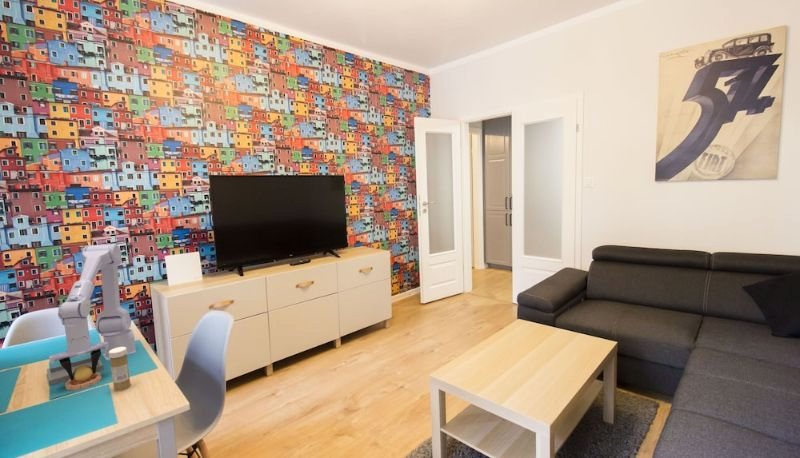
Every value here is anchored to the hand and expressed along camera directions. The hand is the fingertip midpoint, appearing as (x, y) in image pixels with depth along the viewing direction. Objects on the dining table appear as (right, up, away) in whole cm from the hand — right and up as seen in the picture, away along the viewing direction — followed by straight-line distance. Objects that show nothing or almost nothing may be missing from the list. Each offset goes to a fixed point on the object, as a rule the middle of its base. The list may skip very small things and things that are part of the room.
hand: (83, 375), depth 123 cm
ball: (0, -2, 0) cm, 2 cm away
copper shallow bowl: (0, -3, 0) cm, 3 cm away
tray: (-9, -2, +8) cm, 12 cm away
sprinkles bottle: (+16, -3, -4) cm, 16 cm away
